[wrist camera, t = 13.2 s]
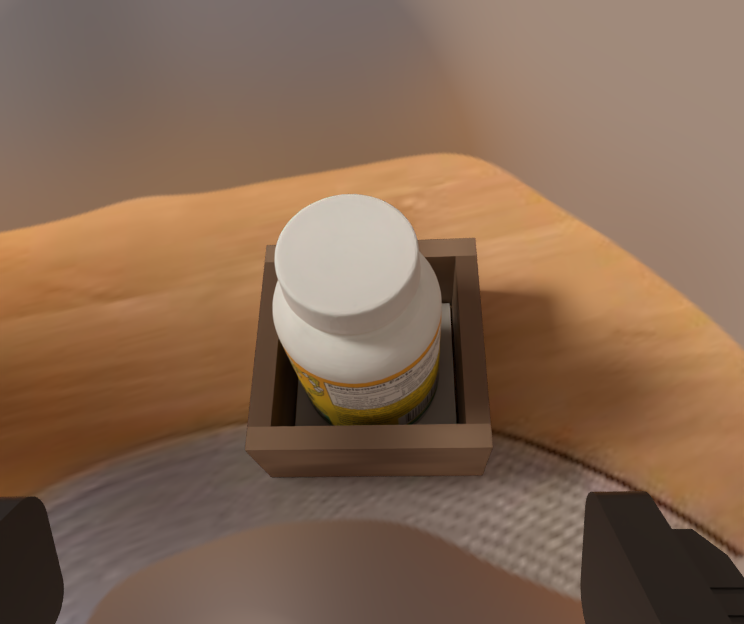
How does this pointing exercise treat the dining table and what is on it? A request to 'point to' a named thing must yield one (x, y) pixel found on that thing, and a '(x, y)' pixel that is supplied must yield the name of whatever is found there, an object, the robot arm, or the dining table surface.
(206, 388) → the dining table surface
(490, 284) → the dining table surface
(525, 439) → the dining table surface
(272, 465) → the holder
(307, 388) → the supplement bottle
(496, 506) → the dining table surface
